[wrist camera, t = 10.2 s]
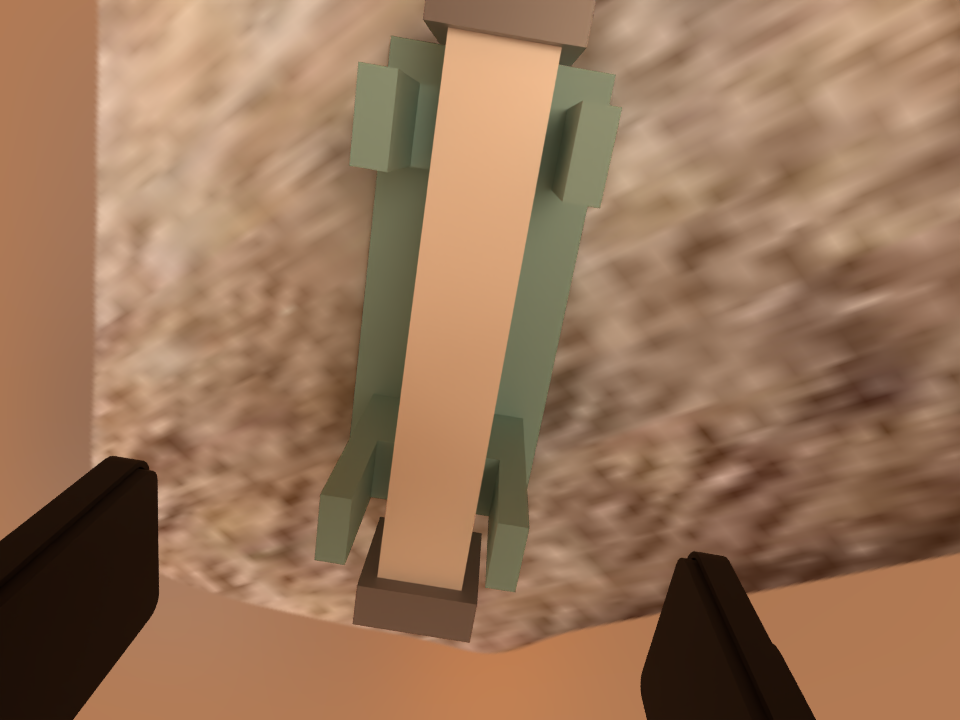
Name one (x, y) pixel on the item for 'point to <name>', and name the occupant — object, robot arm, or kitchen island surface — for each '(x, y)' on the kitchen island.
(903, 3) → the kitchen island surface
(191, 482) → the kitchen island surface
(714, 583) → the robot arm
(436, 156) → the tan wooden bar
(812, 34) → the kitchen island surface
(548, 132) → the rack
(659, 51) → the kitchen island surface
